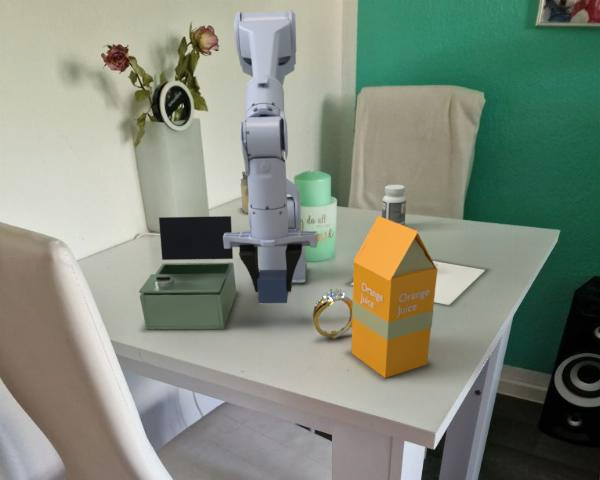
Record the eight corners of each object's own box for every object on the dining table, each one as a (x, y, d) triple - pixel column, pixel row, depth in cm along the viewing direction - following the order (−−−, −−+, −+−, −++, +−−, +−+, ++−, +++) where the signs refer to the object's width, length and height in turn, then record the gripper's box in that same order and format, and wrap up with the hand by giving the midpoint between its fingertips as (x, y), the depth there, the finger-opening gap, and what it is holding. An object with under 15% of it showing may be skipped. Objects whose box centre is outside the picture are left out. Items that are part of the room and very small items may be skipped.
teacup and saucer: (440, 269, 113) (442, 250, 111) (425, 282, 107) (427, 262, 105) (400, 262, 117) (402, 243, 115) (384, 274, 112) (385, 254, 109)
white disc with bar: (215, 282, 93) (214, 273, 92) (212, 290, 90) (211, 280, 89) (157, 283, 94) (156, 273, 93) (152, 290, 91) (150, 280, 90)
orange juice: (392, 340, 88) (400, 211, 77) (428, 364, 81) (443, 226, 70) (350, 353, 85) (353, 220, 74) (384, 378, 78) (393, 237, 67)
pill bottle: (408, 227, 138) (411, 185, 133) (398, 233, 134) (401, 190, 129) (386, 224, 141) (389, 183, 136) (377, 230, 137) (379, 188, 132)
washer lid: (162, 259, 103) (162, 259, 103) (232, 258, 102) (232, 258, 102) (158, 217, 101) (159, 217, 101) (230, 216, 100) (231, 216, 100)
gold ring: (352, 330, 91) (353, 284, 87) (358, 339, 89) (359, 292, 84) (310, 336, 90) (309, 289, 86) (315, 344, 87) (315, 297, 83)
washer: (167, 294, 106) (162, 259, 103) (236, 293, 106) (232, 258, 102) (146, 329, 94) (138, 291, 90) (223, 329, 93) (219, 290, 89)
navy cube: (288, 292, 94) (287, 269, 92) (286, 303, 90) (285, 279, 88) (261, 292, 94) (260, 269, 92) (258, 303, 91) (257, 280, 88)
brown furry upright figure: (258, 213, 153) (255, 175, 148) (244, 214, 152) (241, 176, 147) (253, 207, 159) (250, 169, 153) (240, 208, 158) (237, 171, 153)
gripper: (216, 213, 81) (225, 299, 89) (315, 211, 80) (316, 298, 88) (223, 200, 87) (232, 283, 95) (316, 198, 86) (317, 282, 94)
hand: (273, 289), depth 92 cm, fingers closed on navy cube, 4 cm apart
